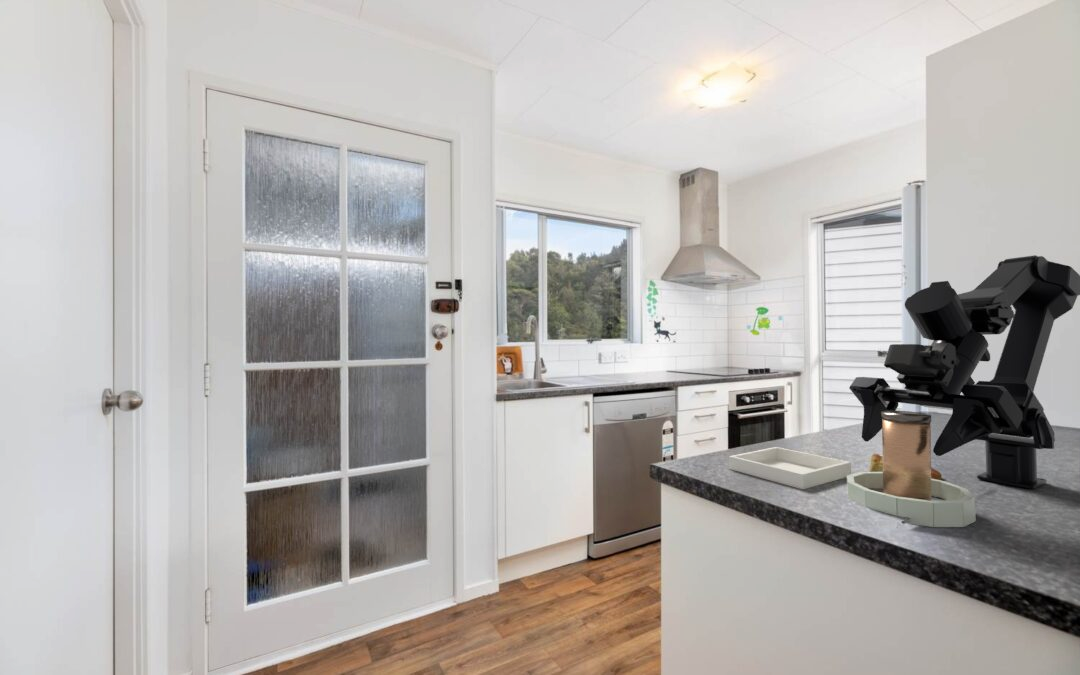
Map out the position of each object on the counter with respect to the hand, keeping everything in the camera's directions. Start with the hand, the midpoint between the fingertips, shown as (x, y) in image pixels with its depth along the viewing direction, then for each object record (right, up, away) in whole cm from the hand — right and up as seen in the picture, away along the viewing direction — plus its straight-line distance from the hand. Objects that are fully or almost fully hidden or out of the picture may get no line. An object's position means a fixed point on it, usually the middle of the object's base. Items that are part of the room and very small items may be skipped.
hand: (897, 446), depth 63 cm
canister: (+2, -8, 0) cm, 8 cm away
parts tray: (-7, -9, +15) cm, 19 cm away
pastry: (+11, -9, +13) cm, 19 cm away
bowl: (+2, -9, 0) cm, 9 cm away
